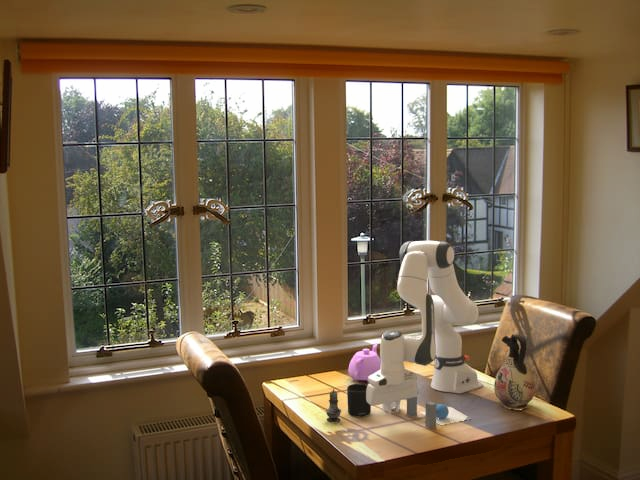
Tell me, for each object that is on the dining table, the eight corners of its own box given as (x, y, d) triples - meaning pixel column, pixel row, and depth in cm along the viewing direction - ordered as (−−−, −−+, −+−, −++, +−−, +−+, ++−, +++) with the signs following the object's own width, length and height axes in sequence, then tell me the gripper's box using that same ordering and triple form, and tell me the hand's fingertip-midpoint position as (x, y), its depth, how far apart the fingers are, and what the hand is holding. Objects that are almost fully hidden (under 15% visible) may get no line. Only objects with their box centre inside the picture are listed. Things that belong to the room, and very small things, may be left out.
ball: (428, 412, 262) (439, 417, 264) (436, 418, 257) (447, 423, 259) (435, 399, 262) (445, 404, 264) (443, 405, 257) (453, 409, 259)
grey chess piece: (325, 417, 263) (325, 386, 261) (340, 416, 263) (340, 386, 262) (326, 423, 257) (326, 391, 255) (342, 422, 257) (342, 391, 256)
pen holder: (343, 415, 264) (343, 390, 263) (352, 407, 273) (352, 382, 272) (366, 419, 261) (366, 393, 259) (374, 410, 269) (375, 385, 268)
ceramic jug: (485, 402, 277) (487, 329, 273) (517, 397, 283) (519, 326, 279) (512, 417, 261) (514, 340, 257) (545, 412, 267) (548, 336, 263)
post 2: (431, 425, 255) (432, 401, 253) (436, 427, 252) (436, 403, 251) (425, 426, 253) (425, 402, 252) (429, 429, 251) (429, 405, 250)
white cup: (388, 414, 265) (388, 389, 264) (377, 407, 272) (377, 383, 271) (405, 410, 269) (405, 385, 267) (393, 404, 276) (394, 380, 274)
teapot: (361, 369, 320) (361, 340, 318) (392, 374, 313) (392, 344, 311) (340, 383, 300) (340, 352, 299) (373, 389, 293) (373, 357, 291)
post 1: (412, 413, 266) (413, 390, 265) (416, 415, 264) (417, 392, 262) (406, 414, 265) (406, 391, 264) (410, 416, 262) (410, 394, 261)
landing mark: (449, 407, 272) (449, 406, 272) (471, 419, 260) (471, 418, 260) (419, 412, 266) (419, 412, 266) (440, 425, 254) (440, 425, 254)
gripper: (412, 368, 258) (412, 404, 260) (363, 377, 249) (364, 414, 252) (421, 373, 252) (421, 409, 254) (372, 383, 244) (372, 420, 246)
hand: (392, 412), depth 253 cm, fingers closed
